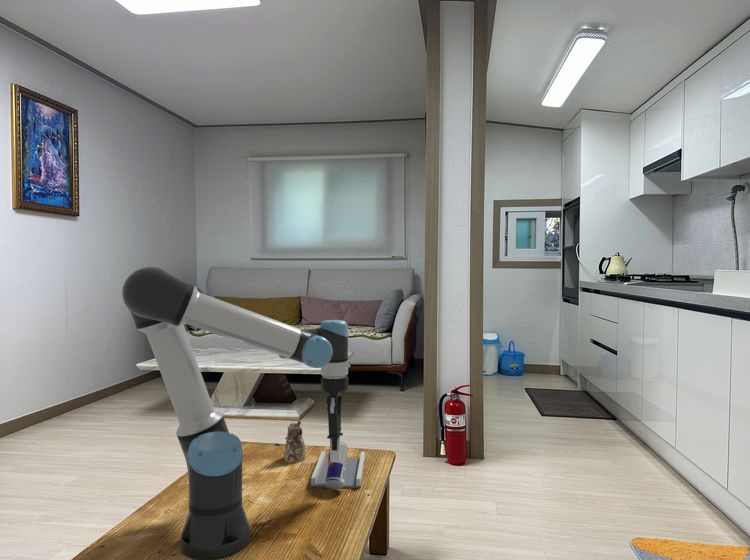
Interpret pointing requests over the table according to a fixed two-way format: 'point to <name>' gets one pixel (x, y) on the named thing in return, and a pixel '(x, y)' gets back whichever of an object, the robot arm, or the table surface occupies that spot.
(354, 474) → the tray
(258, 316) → the robot arm
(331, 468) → the energy drink
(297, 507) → the table surface
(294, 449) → the figurine
